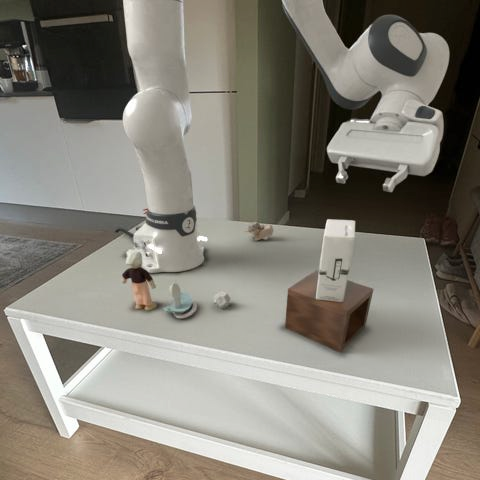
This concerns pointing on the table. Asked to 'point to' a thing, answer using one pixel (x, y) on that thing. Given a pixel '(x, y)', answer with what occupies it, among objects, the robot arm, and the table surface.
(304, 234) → the table surface
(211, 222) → the table surface
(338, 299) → the ink box
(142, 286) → the grandmother figurine
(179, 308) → the pacifier
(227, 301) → the game die
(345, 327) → the shelf
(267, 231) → the toy character
